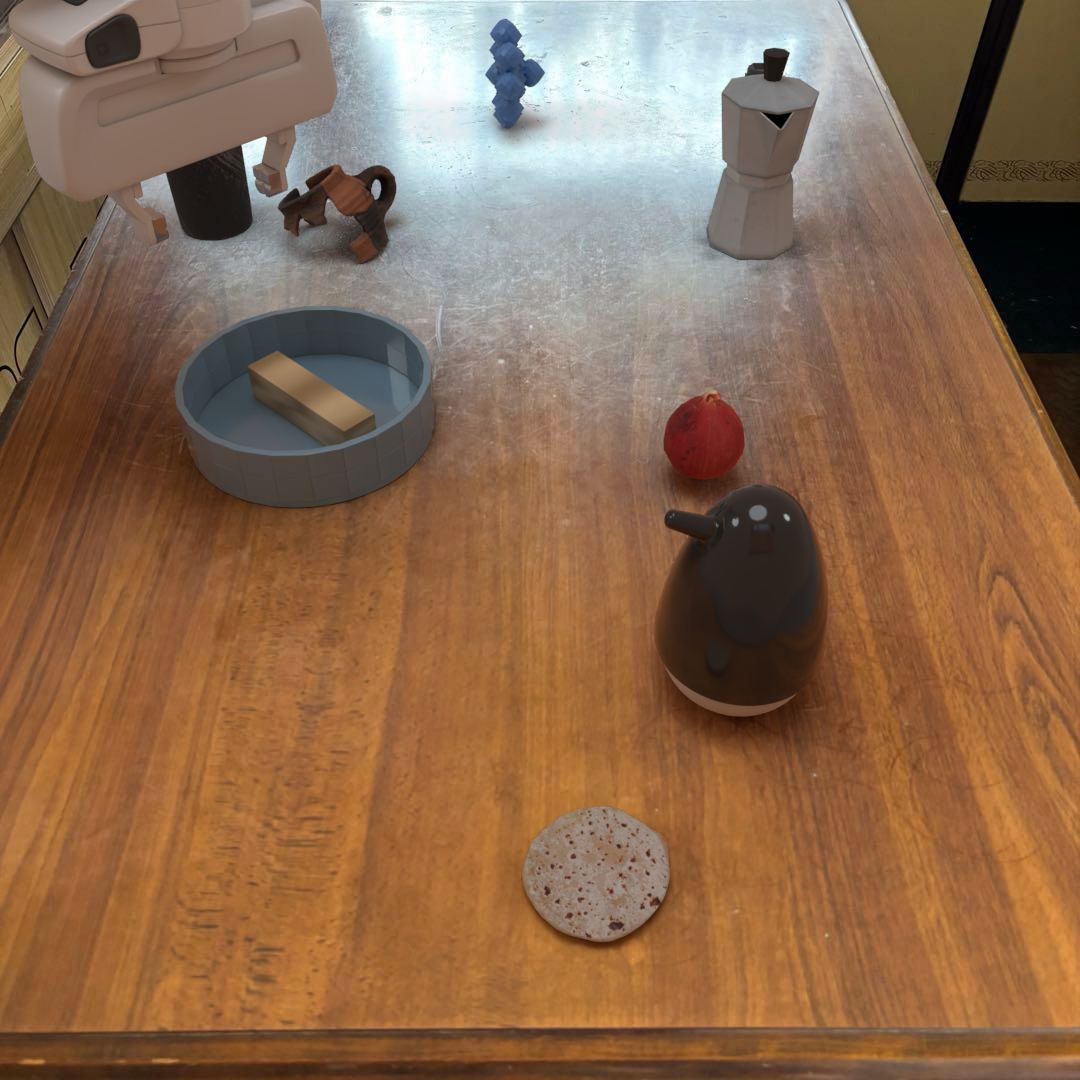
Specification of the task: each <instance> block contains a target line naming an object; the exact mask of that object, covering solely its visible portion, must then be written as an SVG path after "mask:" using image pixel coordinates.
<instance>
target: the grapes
mask: <svg viewBox="0 0 1080 1080" xmlns="http://www.w3.org/2000/svg"><path fill="white" fill-rule="evenodd" d="M489 35H490V37H491V38H492V40H493V41H494V42H493V43H492V45H491V46H490V48H489V50H488V51H489V52H490V53H491V55H492V56H493V57H492V59H493V61H494V62H493V63H492V64H491V65H490V66H489V68H488V69H487V71H486V73H485V74H484V76H485V77H486V78H487V80H488V81H489V82H490V83H491V85H493V87H494V89H495V91H496V92H495V95H494V97H493V98H492V100H491V103H492V105H493V106H494V108H493V110H494V112H493V113H492V116H493V117H494V118H495V120H497V122H498V123H499V124H500V125H501V126H503V127H504V128H511V127H514V125H516V123H517V122H518V121H519V119H520V118H521V116H522V115H523V111H524V110H525V107H524V105H522V103H521V99H522V98H523V97H524V95H525V94H526V91H527V88H534V87H535V86H536V85H538V84H539V83H540V81H541V80H542V78H543V77H544V75H545V74H546V72H545V69H543V68H542V66H541V65H540V64H539V62H537V61H536V60H535V59H533V58H527V59H526V60H525V58H526V55H525V53H524V52H523V51H522V50H521V49H520V48H519V47H518V46H519V41H520V40H522V39H521V38H522V37H523V34H522V33H521V32H520V30H519V29H518V27H517V26H516V24H514V23H513V22H512V21H510V20H509V19H508V18H502V19H500V20H498V22H496V24H494V26H493V28H492V30H491V31H490V32H489ZM526 87H527V88H526Z"/></svg>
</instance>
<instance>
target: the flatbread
mask: <svg viewBox="0 0 1080 1080" xmlns="http://www.w3.org/2000/svg"><path fill="white" fill-rule="evenodd" d="M669 857H670V856H669V848H668V843H667V841H666V839H665V837H664V835H663V834H661V832H659V831H656V830H654V829H653V828H651V827H649V826H648V825H647V824H646V823H644V822H643V821H642V820H639V818H636V817H635V816H633V815H632V814H629V813H628V812H625V811H624V810H622V809H620V808H617V807H613V806H609V805H597V806H591V807H581V808H576V809H573V810H571V811H568V812H566V813H563V814H562V815H560V816H558V817H557V818H556V819H554V820H553V821H552V822H551V823H549V824H548V825H547V826H545V828H544V829H543V830H541V831H540V833H538V834H537V836H536V837H534V839H533V841H532V842H531V843H530V846H529V848H528V849H527V852H526V855H525V858H524V860H523V861H524V862H523V865H522V869H521V881H522V882H521V883H522V886H523V889H524V892H525V893H526V896H527V899H528V900H529V902H530V903H531V904H532V906H533V907H534V909H535V911H536V912H538V914H539V915H540V916H541V917H542V918H543V919H544V921H546V922H547V923H548V924H549V925H551V926H552V927H553V929H555V930H557V931H558V932H560V933H563V934H564V935H567V936H570V937H573V938H578V939H583V940H588V941H591V942H597V943H607V942H612V941H616V940H619V939H622V938H624V937H625V936H627V935H629V934H631V933H633V932H634V931H636V930H638V929H639V928H640V927H641V926H643V925H644V924H645V923H646V922H647V921H648V920H649V919H650V918H651V916H653V915H654V913H655V912H656V911H657V909H658V908H659V906H660V905H661V904H662V902H663V901H664V898H665V897H666V894H667V890H668V887H669V884H670V880H671V868H670V858H669Z"/></svg>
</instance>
